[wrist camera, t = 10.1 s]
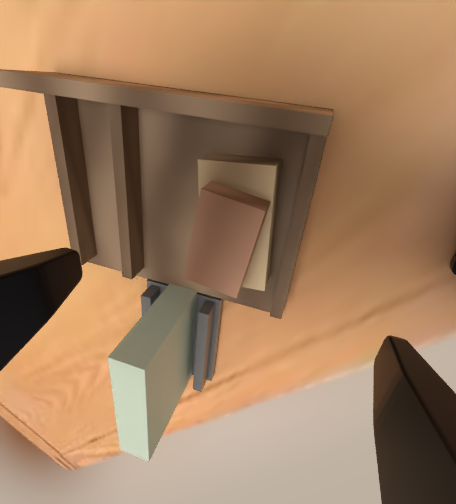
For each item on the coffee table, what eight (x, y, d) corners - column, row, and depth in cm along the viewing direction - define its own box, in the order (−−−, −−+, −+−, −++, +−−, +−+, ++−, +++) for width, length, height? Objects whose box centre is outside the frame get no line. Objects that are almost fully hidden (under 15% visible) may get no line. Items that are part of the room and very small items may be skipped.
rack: (333, 109, 17) (333, 115, 13) (283, 308, 23) (273, 352, 20) (54, 72, 20) (-12, 68, 16) (82, 254, 27) (41, 282, 23)
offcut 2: (270, 201, 17) (265, 211, 16) (242, 284, 20) (236, 298, 19) (211, 180, 17) (200, 188, 16) (192, 265, 21) (182, 277, 19)
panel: (197, 291, 24) (144, 370, 17) (191, 375, 29) (148, 461, 22) (169, 283, 25) (107, 357, 18) (168, 367, 30) (120, 449, 23)
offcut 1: (281, 158, 18) (276, 165, 16) (269, 275, 21) (264, 291, 20) (209, 152, 19) (197, 159, 17) (210, 264, 23) (201, 279, 21)
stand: (223, 294, 25) (213, 313, 23) (214, 374, 29) (205, 395, 27) (151, 275, 26) (136, 291, 24) (153, 354, 31) (141, 373, 29)
